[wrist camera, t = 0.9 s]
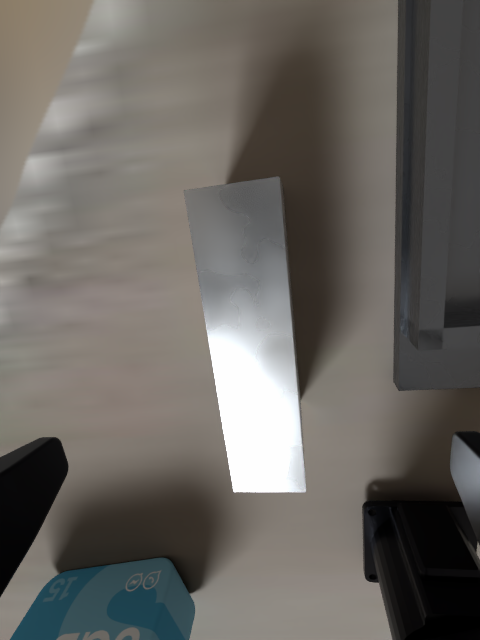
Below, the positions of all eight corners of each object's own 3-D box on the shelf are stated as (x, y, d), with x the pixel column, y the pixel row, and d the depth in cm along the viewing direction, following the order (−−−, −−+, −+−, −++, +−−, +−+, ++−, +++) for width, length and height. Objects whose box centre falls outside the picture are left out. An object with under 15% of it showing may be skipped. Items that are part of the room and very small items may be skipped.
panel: (300, 399, 21) (306, 492, 14) (250, 401, 21) (233, 491, 14) (282, 185, 17) (279, 176, 10) (223, 194, 17) (183, 190, 11)
